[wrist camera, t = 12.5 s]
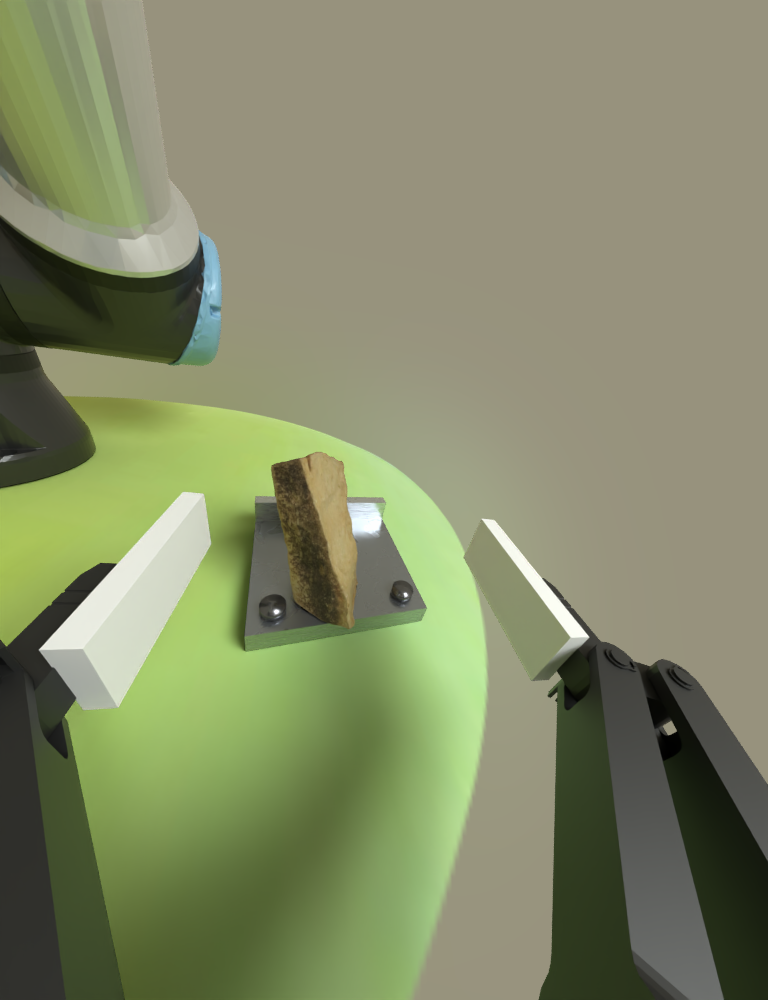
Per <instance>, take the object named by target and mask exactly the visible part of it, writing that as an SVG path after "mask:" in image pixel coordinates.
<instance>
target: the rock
mask: <svg viewBox="0 0 768 1000" xmlns="http://www.w3.org/2000/svg"><path fill="white" fill-rule="evenodd" d="M271 471H272V478H273V483H274V489H275V497H276V502H277V509H278V513H279V517H280V521H281V527H282V529H283V533H284V541H285V543H286V546H287V550H288V554H287V557H288V565H289V569H290V582H291V587H292V592H293V598H294V600H295V602H296V603H297V604H299V605H300V606H301V607H303V608H304V609H306V610H307V611H308V612H310V613H311V614H313V615H314V616H316V617H317V618H319V619H320V620H322V621H324V622H327V623H330V624H333V625H338V626H342V627H345V628H347V629H351V628H352V627H353V626H354V625H355V620H354V617H353V610H354V603H355V596H356V585H357V584H358V581H357V576H356V563H357V547H356V541H355V539H354V537H353V534H352V519H351V517H350V514H349V511H348V507H347V484H346V479H345V475H344V465H343V462H342V461H338V460H336V459H335V458H334V457H329V456H328V455H327V454H326V453H322V452H315V453H313V454H310V455H308V456H306V457H304V458H299V459H294V460H290V461H287V462H280V463H276V464H274V465H272V467H271Z"/></svg>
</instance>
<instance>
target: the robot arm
mask: <svg viewBox="0 0 768 1000" xmlns="http://www.w3.org/2000/svg"><path fill="white" fill-rule="evenodd" d="M221 300H222V288H221V271H220V263H219V257H218V252H217V249H216V246H215V244H214V242H213V241H212V240H211V239H210V238H209V237H208V236H206V235H204V234H203V233H201V232H200V231H199V230H198V226H197V222H196V219H195V216H194V214H193V212H192V210H191V207H190V206H189V204H188V202H187V201H186V199H185V198H184V196H183V195H182V194H181V192H180V191H179V190H178V188H177V187H176V186H175V185H174V184H173V183H172V182H171V181H170V180H169V177H168V170H167V163H166V156H165V150H164V143H163V136H162V130H161V123H160V116H159V109H158V103H157V96H156V89H155V82H154V76H153V69H152V62H151V56H150V49H149V42H148V35H147V29H146V23H145V16H144V8H143V2H142V0H0V487H4V486H10V485H15V484H20V483H24V482H29V481H33V480H37V479H41V478H45V477H48V476H52V475H55V474H58V473H61V472H63V471H66V470H69V469H71V468H73V467H76V466H78V465H80V464H81V463H83V462H85V461H86V460H88V459H89V458H90V457H91V456H92V455H93V454H94V452H95V449H96V447H95V444H94V441H93V438H92V435H91V432H90V430H89V428H88V426H87V425H86V424H85V422H84V421H83V420H82V419H81V418H80V416H79V415H78V414H77V413H76V411H75V410H74V409H73V408H72V407H71V405H70V404H69V403H68V402H67V400H66V399H65V398H64V397H63V396H62V395H61V393H60V392H59V391H58V390H57V388H56V387H55V386H54V385H53V383H52V382H51V381H50V380H49V379H48V377H47V376H46V374H45V373H44V370H43V368H42V366H41V363H40V361H39V358H38V356H37V353H36V351H35V348H34V346H37V347H46V348H55V349H63V350H71V351H78V352H85V353H93V354H100V355H107V356H115V357H122V358H129V359H137V360H145V361H151V362H159V363H166V364H169V365H173V366H174V365H180V364H185V365H197V366H203V365H207V364H209V363H211V362H212V361H213V359H214V358H215V356H216V354H217V351H218V345H219V339H220V331H221V315H220V310H221ZM210 545H211V539H210V532H209V525H208V518H207V511H206V504H205V497H204V494H201V493H190V492H183V493H182V494H181V495H180V496H179V497H178V498H177V499H176V500H175V501H174V503H173V504H172V505H171V506H170V507H169V508H168V509H167V510H166V511H165V512H164V514H163V515H162V516H161V517H160V518H159V519H158V520H157V521H156V522H155V523H154V524H153V526H152V527H151V528H150V529H149V530H148V531H147V532H146V533H145V534H144V535H143V537H142V538H141V539H140V540H139V541H138V542H137V543H136V544H135V545H134V546H133V547H132V549H131V550H130V551H129V552H128V553H127V554H126V555H125V556H124V557H123V558H122V560H121V561H120V562H119V563H118V564H113V563H100V564H98V565H96V566H95V567H93V568H91V569H90V570H88V571H86V572H84V573H83V574H81V575H80V576H79V577H78V578H77V579H76V580H74V581H73V582H72V583H71V584H70V585H69V586H68V587H67V588H66V589H65V592H64V593H61V594H60V595H59V596H58V597H57V598H56V599H55V600H54V601H53V602H52V605H51V606H48V607H47V608H46V609H45V610H44V611H43V612H42V613H41V614H40V615H39V616H38V617H37V618H36V619H35V620H34V621H33V622H32V623H31V624H30V625H28V626H27V627H26V628H25V629H24V630H23V631H22V632H21V633H20V634H19V635H18V636H17V637H16V638H15V639H14V640H13V641H12V642H11V643H10V644H9V645H8V646H7V647H6V646H5V645H4V644H3V642H2V641H1V640H0V1000H125V999H124V994H123V989H122V984H121V979H120V974H119V970H118V965H117V960H116V955H115V950H114V945H113V940H112V936H111V931H110V926H109V921H108V916H107V911H106V906H105V902H104V897H103V892H102V887H101V882H100V877H99V872H98V868H97V863H96V858H95V853H94V848H93V843H92V838H91V834H90V829H89V824H88V819H87V814H86V809H85V804H84V800H83V795H82V790H81V785H80V780H79V775H78V770H77V766H76V761H75V756H74V751H73V746H72V741H71V736H70V732H69V727H68V722H67V720H66V719H65V717H64V716H65V714H66V713H67V711H68V710H69V708H70V707H71V706H72V704H73V703H74V701H75V700H76V701H77V702H78V704H79V705H80V706H81V708H82V709H83V710H92V709H108V708H118V707H119V705H120V704H121V702H122V700H123V698H124V697H125V695H126V693H127V691H128V689H129V688H130V686H131V684H132V682H133V681H134V679H135V677H136V675H137V674H138V672H139V670H140V668H141V667H142V665H143V663H144V661H145V660H146V658H147V656H148V654H149V653H150V651H151V649H152V647H153V646H154V644H155V642H156V640H157V638H158V637H159V635H160V633H161V631H162V630H163V628H164V626H165V624H166V623H167V621H168V619H169V617H170V616H171V614H172V612H173V610H174V609H175V607H176V605H177V603H178V602H179V600H180V598H181V596H182V594H183V593H184V591H185V589H186V587H187V586H188V584H189V582H190V580H191V579H192V577H193V575H194V573H195V572H196V570H197V568H198V566H199V565H200V563H201V561H202V559H203V558H204V556H205V554H206V552H207V551H208V549H209V547H210ZM464 559H465V561H466V563H467V565H468V566H469V568H470V570H471V572H472V574H473V576H474V577H475V579H476V581H477V583H478V584H479V586H480V588H481V590H482V592H483V594H484V595H485V597H486V599H487V601H488V603H489V605H490V606H491V608H492V610H493V612H494V614H495V616H496V617H497V619H498V621H499V623H500V625H501V626H502V628H503V630H504V632H505V634H506V636H507V637H508V639H509V641H510V643H511V645H512V647H513V648H514V650H515V652H516V654H517V655H518V657H519V659H520V661H521V663H522V665H523V666H524V668H525V670H526V672H527V674H528V676H529V677H530V679H531V681H538V680H549V679H550V678H551V676H553V675H554V673H555V672H556V671H557V672H558V674H559V675H560V677H561V678H562V679H561V680H560V681H559V682H558V683H557V684H556V685H555V686H554V687H553V688H552V689H551V690H550V691H549V693H548V697H550V698H551V697H552V696H553V695H554V694H555V693H556V692H558V695H557V699H556V700H555V701H556V702H557V740H556V783H555V827H554V870H553V871H554V872H553V914H552V954H551V964H550V969H549V973H548V975H547V977H546V979H545V981H544V983H543V986H542V988H541V992H540V996H539V1000H768V784H767V783H766V781H765V780H764V779H763V777H762V776H761V774H760V773H759V771H758V769H757V768H756V767H755V765H754V764H753V762H752V761H751V759H750V758H749V756H748V755H747V753H746V752H745V750H744V749H743V747H742V746H741V744H740V743H739V742H738V740H737V738H736V737H735V735H734V734H733V732H732V731H731V729H730V728H729V726H728V725H727V723H726V722H725V720H724V719H723V717H722V716H721V715H720V713H719V712H718V710H717V709H716V707H715V706H714V704H713V703H712V701H711V700H710V698H709V697H708V695H707V694H706V692H705V691H704V689H703V688H702V686H700V684H699V683H698V682H697V680H696V679H695V678H693V676H691V675H690V674H689V673H688V672H687V671H686V670H684V669H683V668H682V667H680V666H678V665H677V664H674V663H672V662H670V661H667V660H663V659H661V660H658V661H657V662H655V663H654V664H653V665H652V666H647V665H644V664H641V663H637V662H634V661H633V660H632V659H631V658H630V657H629V656H628V655H627V654H626V653H624V651H622V650H621V649H619V648H618V647H616V646H615V645H612V644H610V643H607V642H601V641H600V640H599V639H598V638H597V637H596V635H595V634H594V633H593V632H592V631H591V629H590V628H589V627H588V626H587V625H586V623H585V622H584V621H583V620H582V619H581V617H580V616H579V615H578V614H577V613H576V611H575V610H574V609H573V608H571V605H570V604H569V603H568V602H567V601H566V600H564V597H563V596H562V595H561V594H560V592H559V591H558V590H557V589H556V588H555V587H554V586H553V585H552V584H551V583H549V582H548V581H546V580H545V579H544V578H541V577H540V576H539V574H538V573H537V572H536V571H535V570H534V568H533V567H532V566H531V565H530V563H529V562H528V561H527V560H526V559H525V557H524V556H523V555H522V554H521V552H520V551H519V550H518V549H517V547H516V546H515V545H514V544H513V542H512V541H511V540H510V539H509V538H508V536H507V535H506V534H505V533H504V532H503V530H502V529H501V528H500V527H499V525H498V524H497V523H496V522H495V520H488V519H481V521H480V523H479V526H478V528H477V530H476V532H475V534H474V536H473V538H472V540H471V543H470V545H469V547H468V549H467V551H466V553H465V555H464ZM671 720H672V722H673V724H674V726H675V728H676V729H677V732H675V733H673V734H672V735H667V733H666V731H665V730H664V728H663V725H664V724H666V723H668V722H670V721H671Z"/></svg>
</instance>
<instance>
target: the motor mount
mask: <svg viewBox="0 0 768 1000" xmlns="http://www.w3.org/2000/svg"><path fill="white" fill-rule="evenodd" d="M385 505H386V502H385V501H384V499H383V498H366V497H347V507H348V511H349V514H350V517H351V519H352V534H353V537H354V539H355V541H356V547H357V563H356V576H357V581H358V584H357V585H356V596H355V603H354V610H353V617H354V620H355V625H354V626H353V627H352V628H351V629H347V628H345V627H342V626H338V625H333V624H330V623H327V622H324V621H322V620H320V619H319V618H317V617H316V616H314V615H313V614H311V613H310V612H308V611H307V610H306V609H304V608H303V607H301V606H300V605H299V604H297V603H296V602H295V600H294V598H293V592H292V587H291V582H290V569H289V565H288V557H287V554H288V550H287V546H286V543H285V541H284V533H283V529H282V527H281V521H280V517H279V513H278V509H277V502H276V497H267V496H256V498H255V517H256V523H255V533H254V544H253V554H252V564H251V574H250V585H249V595H248V605H247V615H246V626H245V636H244V638H245V650H246V651H252V650H257V649H263V648H269V647H274V646H280V645H286V644H292V643H297V642H303V641H309V640H314V639H320V638H326V637H331V636H337V635H343V634H349V633H354V632H360V631H366V630H371V629H377V628H383V627H389V626H394V625H400V624H406V623H411V622H417V621H421V620H422V618H423V616H424V613H425V611H426V609H427V607H426V605H425V603H424V601H423V599H422V597H421V595H420V593H419V592H418V590H417V588H416V586H415V584H414V582H413V580H412V578H411V576H410V574H409V572H408V570H407V568H406V566H405V564H404V562H403V560H402V558H401V556H400V554H399V552H398V550H397V548H396V546H395V544H394V542H393V540H392V538H391V536H390V534H389V532H388V530H387V528H386V526H385V524H384V522H383V520H382V517H383V513H384V509H385Z"/></svg>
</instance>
